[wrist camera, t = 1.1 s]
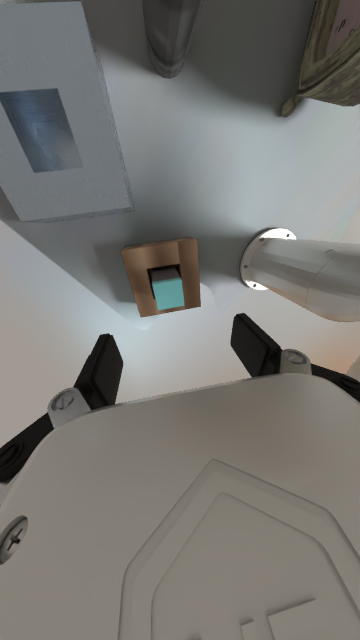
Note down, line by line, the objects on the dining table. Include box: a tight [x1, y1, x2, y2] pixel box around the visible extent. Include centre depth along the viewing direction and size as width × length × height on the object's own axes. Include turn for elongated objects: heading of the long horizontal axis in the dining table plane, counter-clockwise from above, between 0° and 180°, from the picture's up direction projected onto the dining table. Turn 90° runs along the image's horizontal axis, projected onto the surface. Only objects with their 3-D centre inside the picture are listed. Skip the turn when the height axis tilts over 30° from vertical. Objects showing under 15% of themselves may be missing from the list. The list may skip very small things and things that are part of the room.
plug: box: [152, 265, 185, 310], centre depth 26 cm, size 4×4×11 cm
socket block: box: [0, 1, 135, 223], centre depth 18 cm, size 14×14×6 cm
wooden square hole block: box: [120, 237, 201, 317], centre depth 29 cm, size 12×12×6 cm
